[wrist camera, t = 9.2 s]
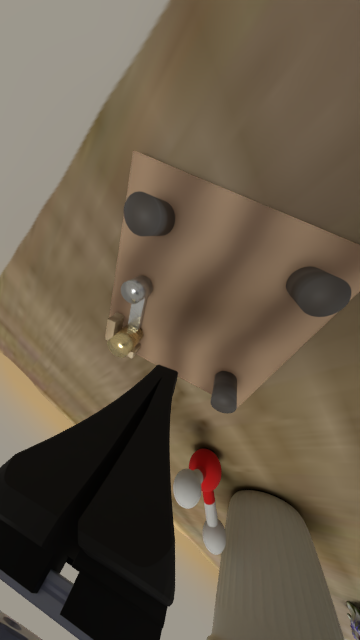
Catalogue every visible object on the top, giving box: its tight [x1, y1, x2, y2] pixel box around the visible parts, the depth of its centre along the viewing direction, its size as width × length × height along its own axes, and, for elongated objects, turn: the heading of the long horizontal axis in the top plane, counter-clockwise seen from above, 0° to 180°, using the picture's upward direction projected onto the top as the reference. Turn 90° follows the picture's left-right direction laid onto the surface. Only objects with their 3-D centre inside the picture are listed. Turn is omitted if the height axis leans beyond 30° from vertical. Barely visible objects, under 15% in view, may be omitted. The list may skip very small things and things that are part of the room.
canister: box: [207, 490, 344, 640], centre depth 25 cm, size 18×18×21 cm
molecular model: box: [173, 449, 226, 555], centre depth 27 cm, size 18×6×10 cm, turn 20°
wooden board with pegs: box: [105, 150, 360, 413], centre depth 16 cm, size 20×20×5 cm
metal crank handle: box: [107, 275, 153, 358], centre depth 18 cm, size 9×3×3 cm, turn 162°
